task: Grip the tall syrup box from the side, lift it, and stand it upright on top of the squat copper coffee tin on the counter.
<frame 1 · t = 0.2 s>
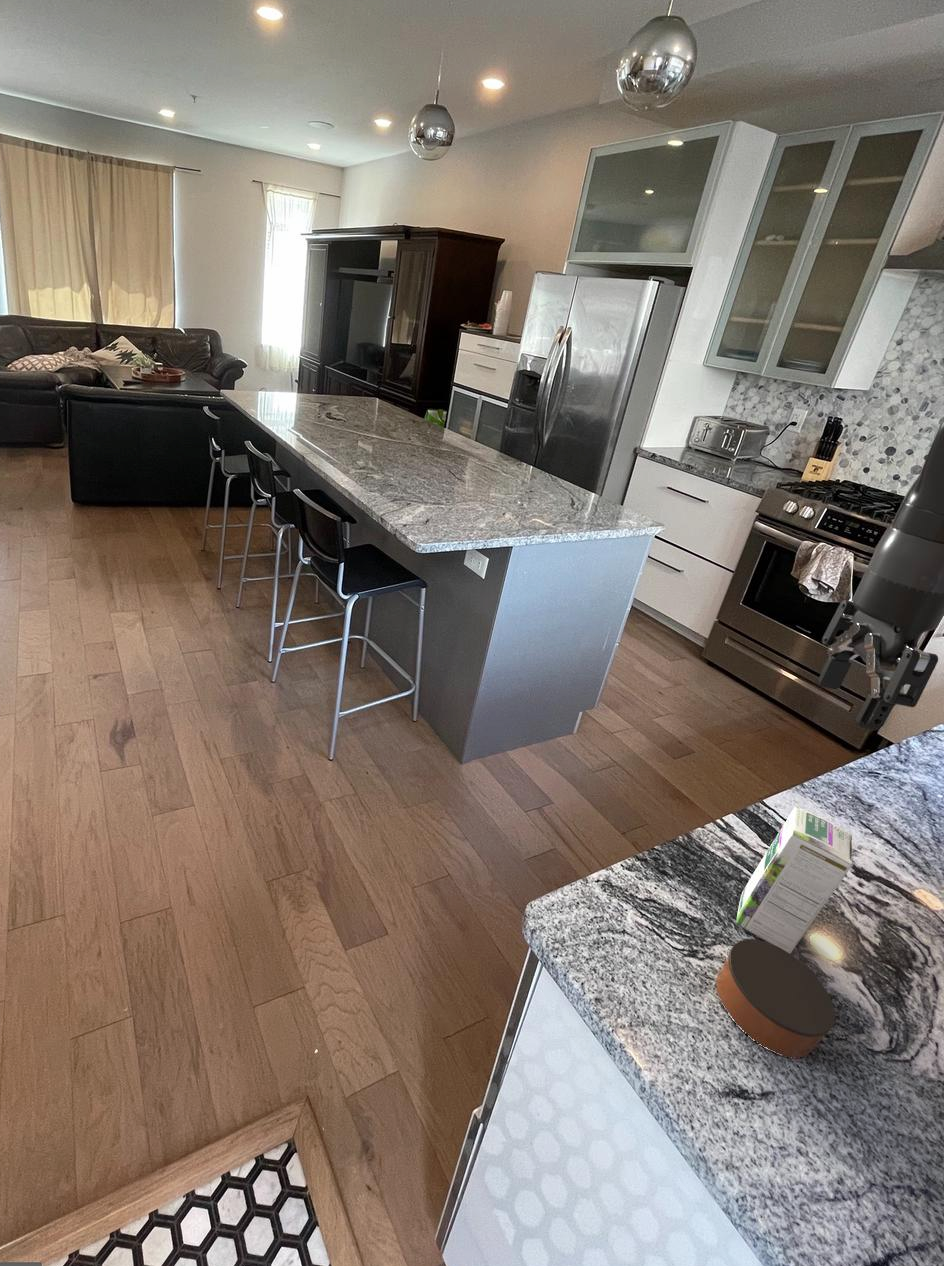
hand: (845, 705, 72), 24 cm above the counter, tool pointing down, fingers open, 8 cm apart
syrup box: (764, 924, 73), on the counter
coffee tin: (763, 1008, 63), on the counter
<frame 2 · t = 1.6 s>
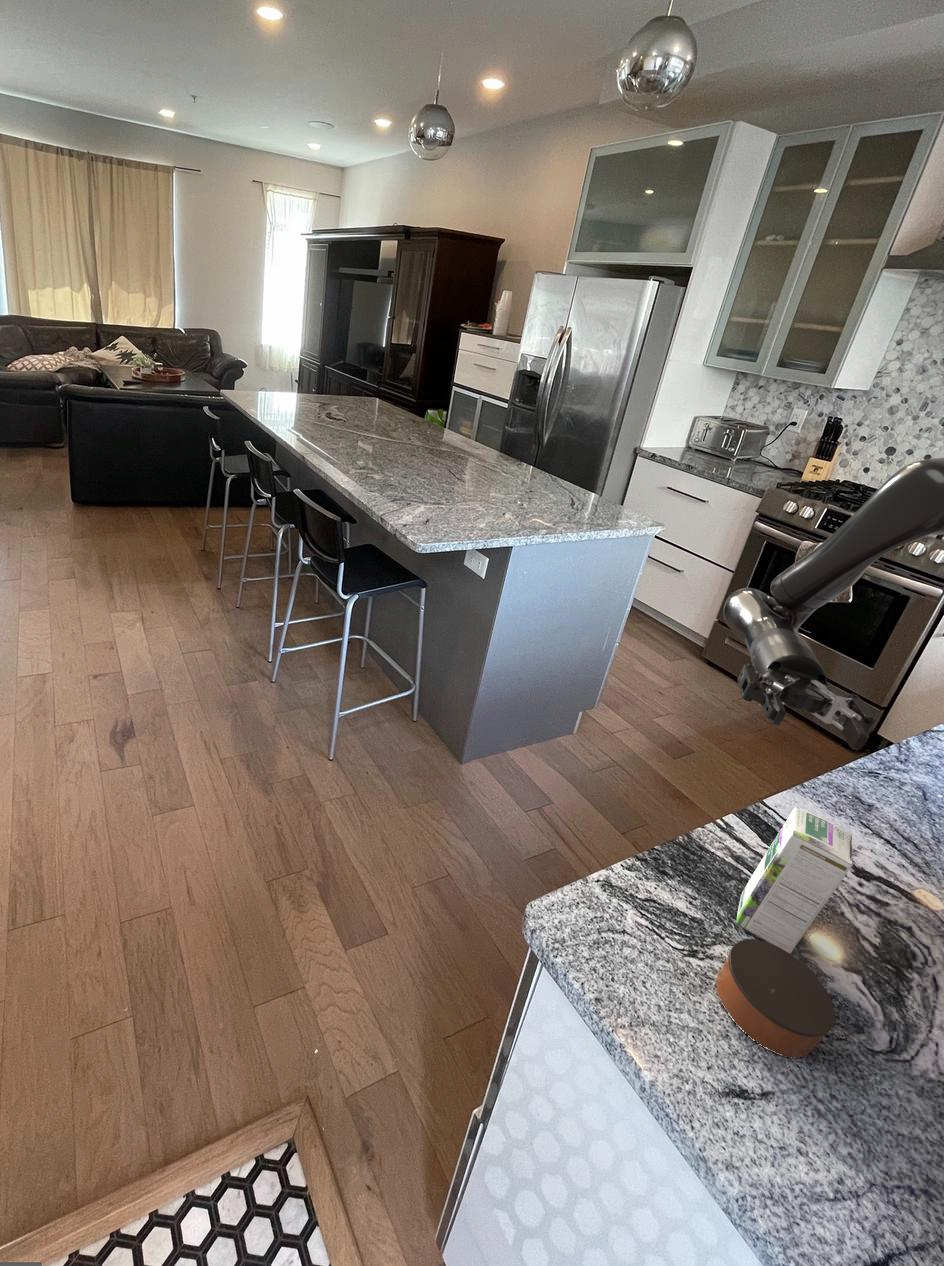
hand: (818, 731, 74), 20 cm above the counter, tool horizontal, fingers open, 8 cm apart
nothing on the counter moved.
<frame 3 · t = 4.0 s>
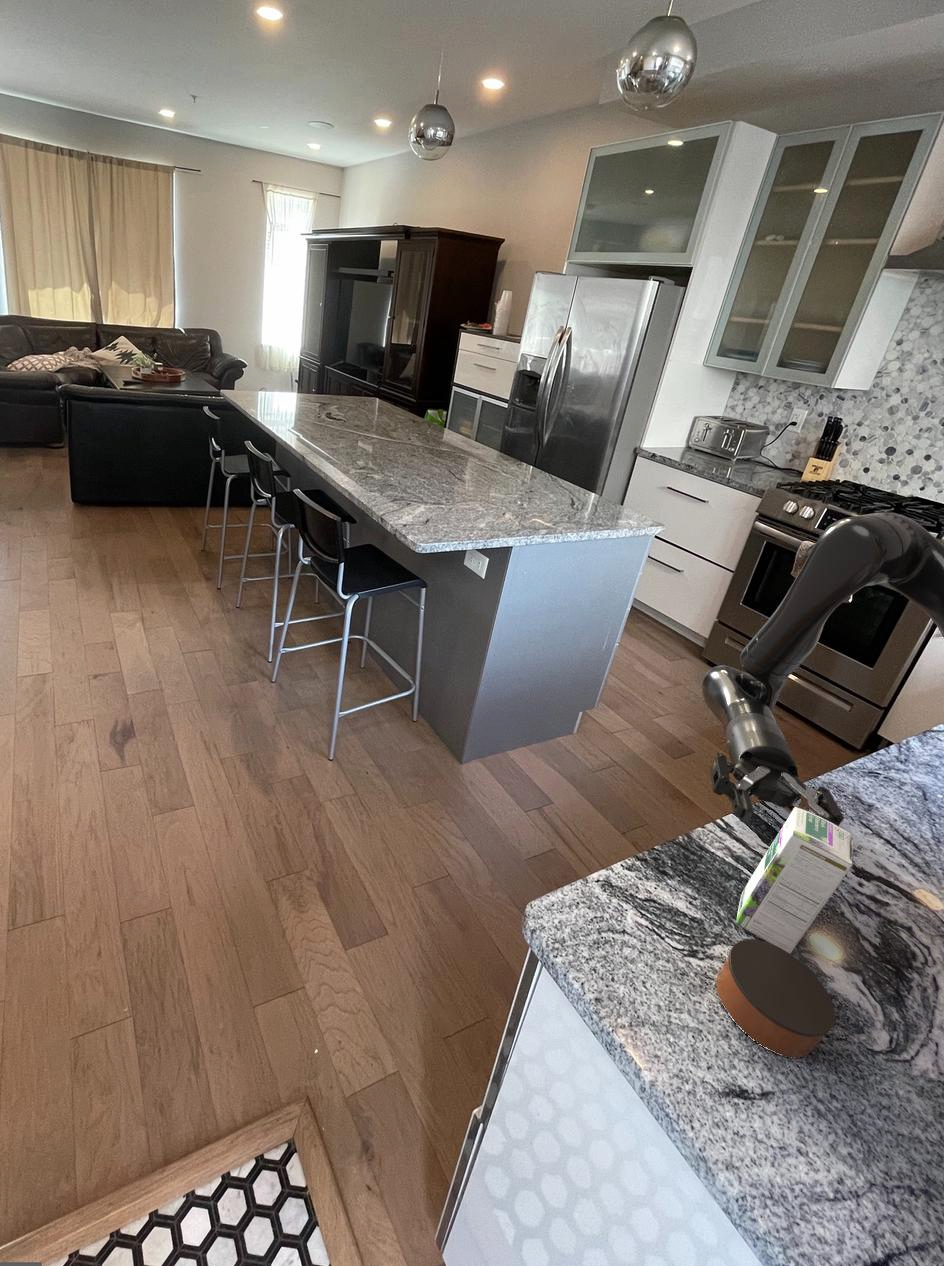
hand: (786, 831, 75), 8 cm above the counter, tool horizontal, fingers open, 8 cm apart
nothing on the counter moved.
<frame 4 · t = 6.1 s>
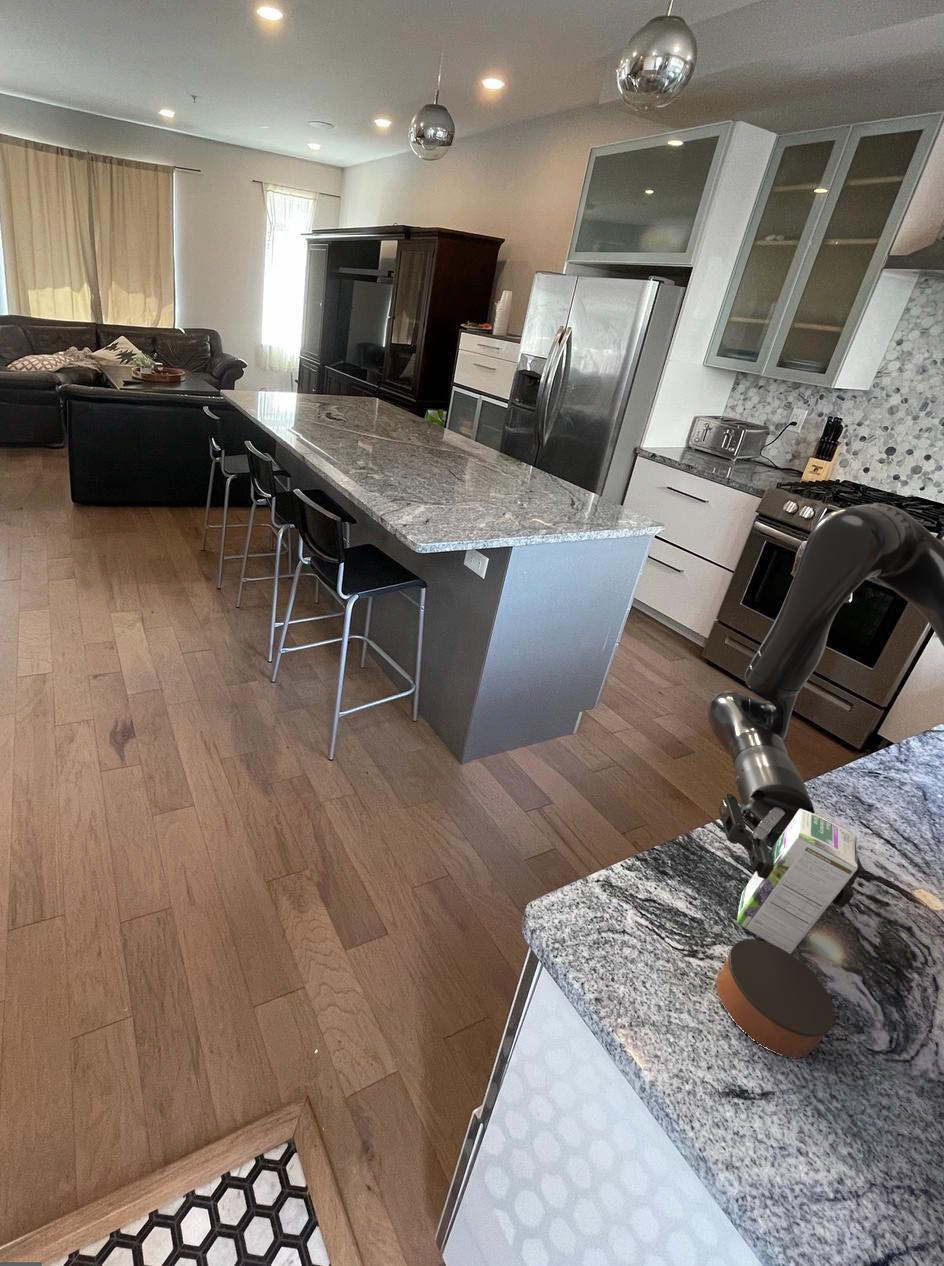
hand: (804, 886, 67), 8 cm above the counter, tool horizontal, fingers closed on syrup box, 7 cm apart
syrup box: (764, 924, 73), on the counter, touching gripper
everything else where it was.
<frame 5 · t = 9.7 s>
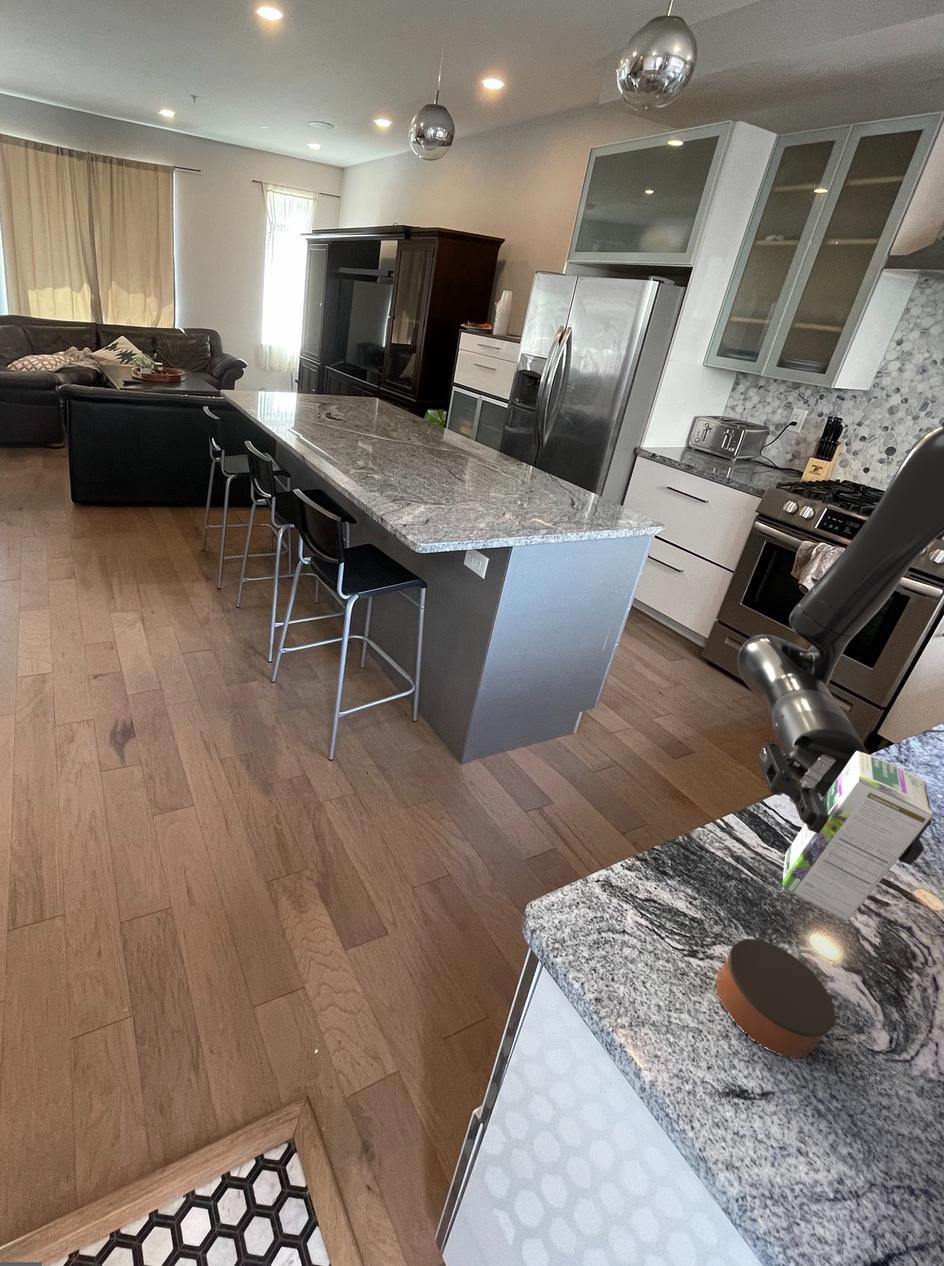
hand: (864, 840, 57), 21 cm above the counter, tool horizontal, fingers closed on syrup box, 7 cm apart
syrup box: (814, 888, 62), point 12 cm above the counter, touching gripper
everything else where it was.
when the fingers open (12 cm above the counter, at t = 13.3 s): syrup box stays where it is, resting on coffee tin.
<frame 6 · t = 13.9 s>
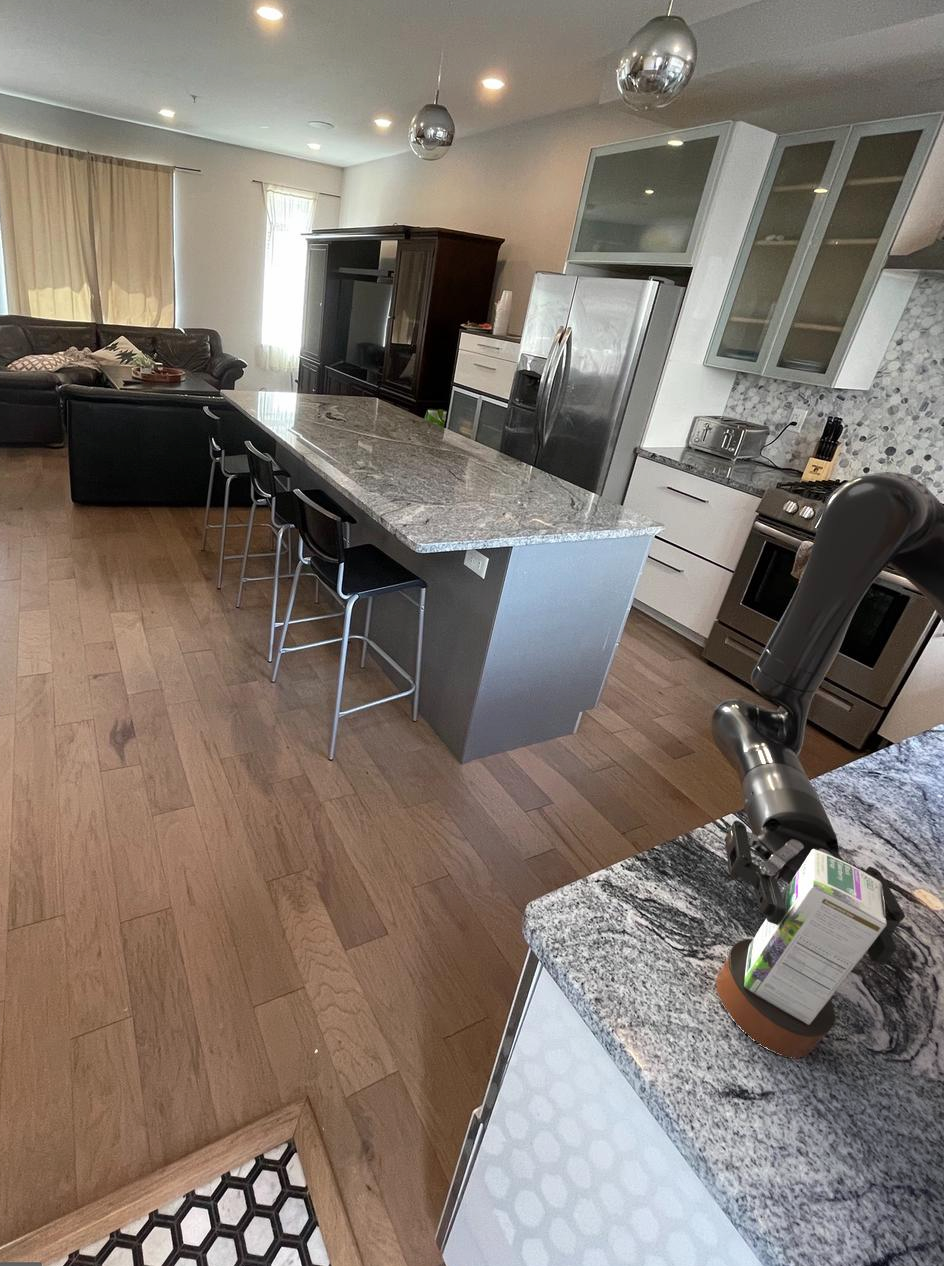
hand: (829, 937, 56), 13 cm above the counter, tool horizontal, fingers open, 8 cm apart
syrup box: (776, 986, 61), point 4 cm above the counter, touching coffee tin
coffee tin: (763, 1008, 63), on the counter, touching syrup box
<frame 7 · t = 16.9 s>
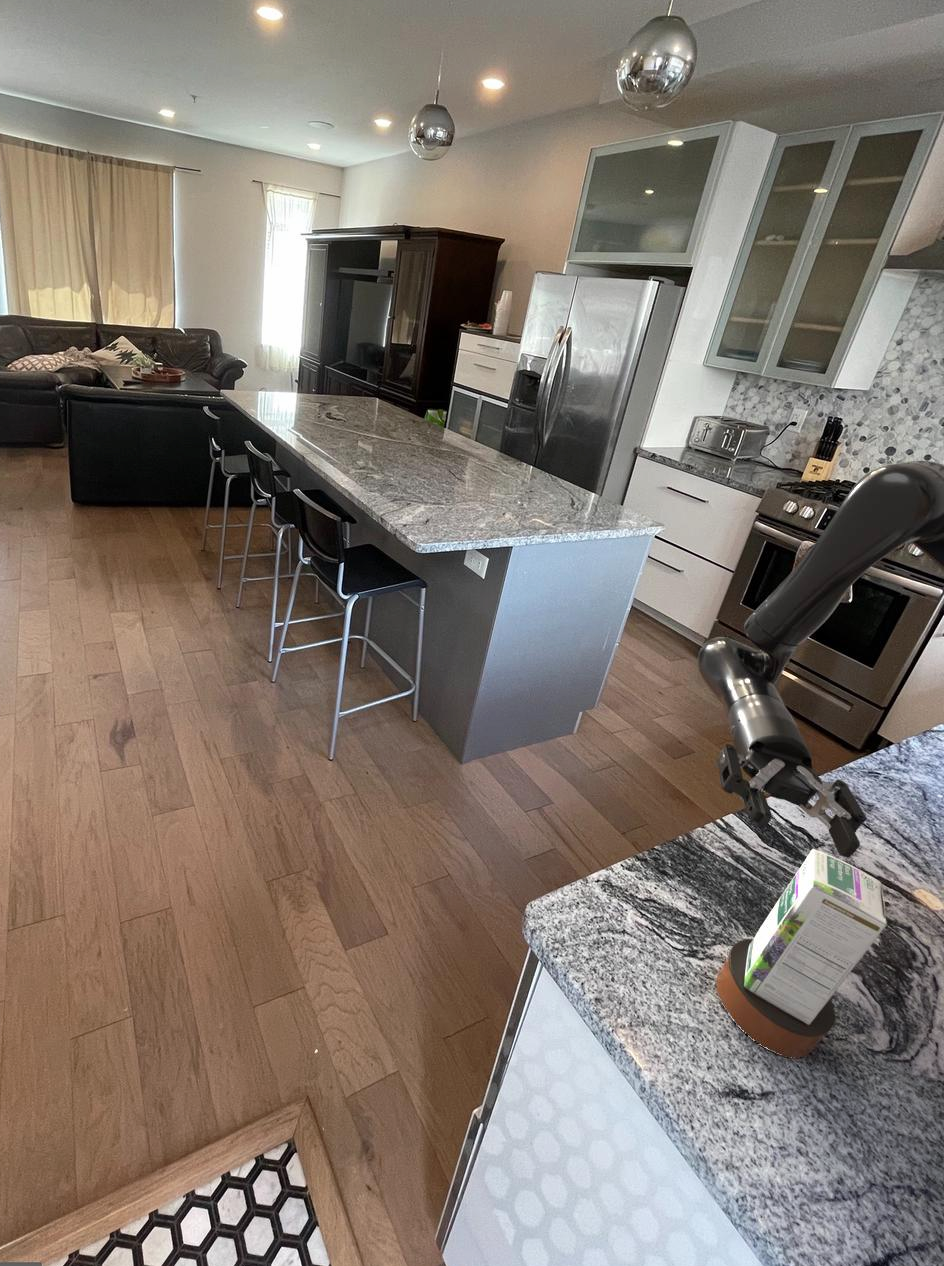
hand: (806, 837, 66), 14 cm above the counter, tool horizontal, fingers open, 8 cm apart
nothing on the counter moved.
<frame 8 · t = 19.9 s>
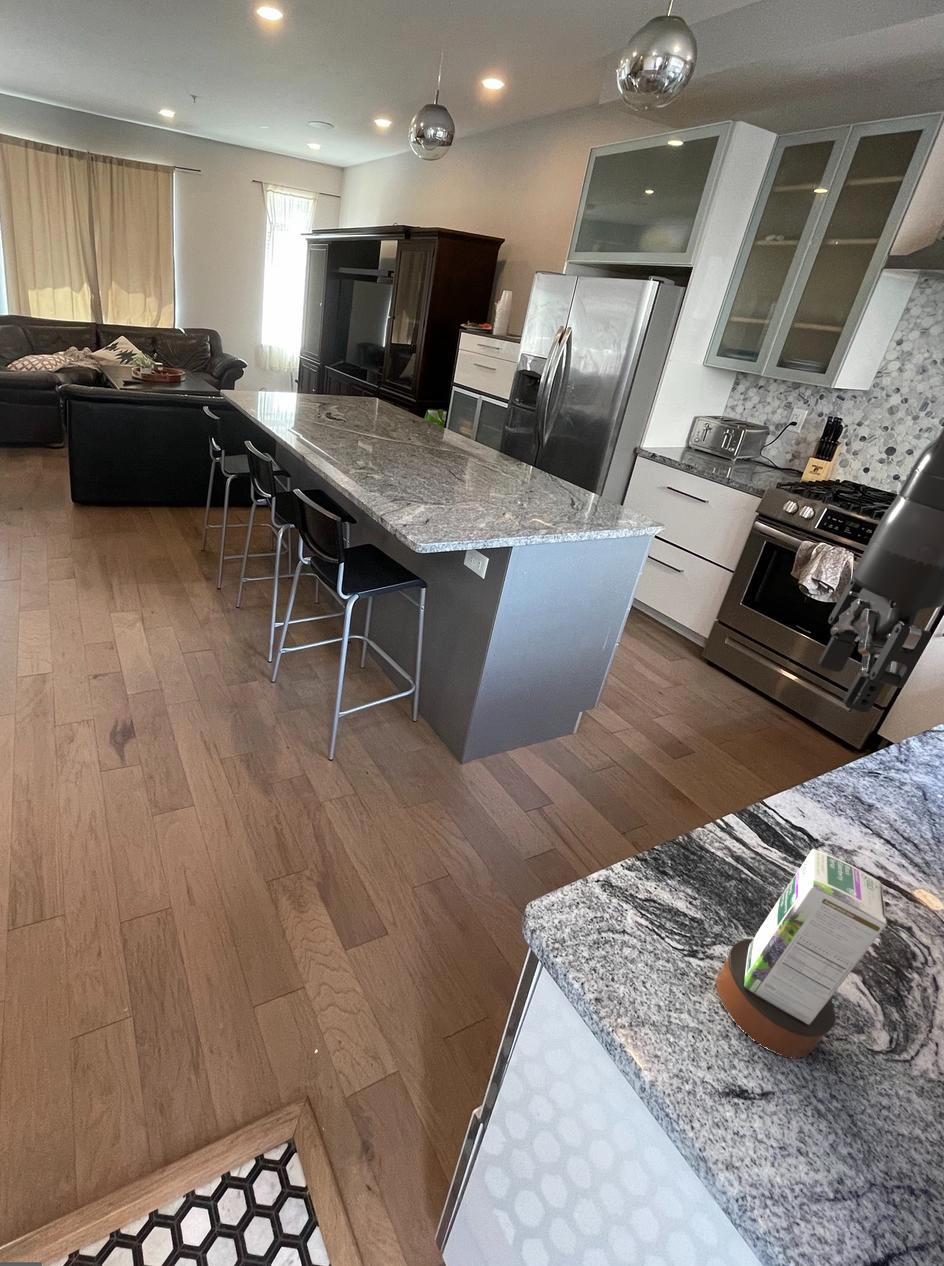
hand: (840, 687, 67), 28 cm above the counter, tool pointing down, fingers open, 8 cm apart
nothing on the counter moved.
at the end: syrup box 0.4 cm off-centre on the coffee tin, point 3.8 cm above the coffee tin's base; syrup box tilted 0°; the gripper is holding nothing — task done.
